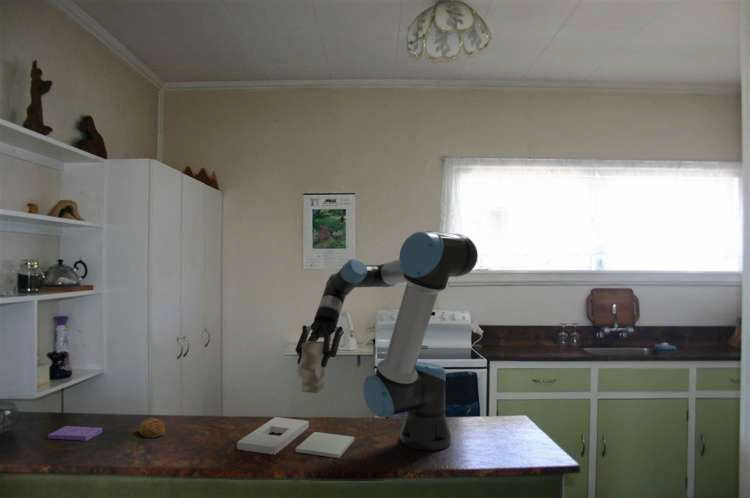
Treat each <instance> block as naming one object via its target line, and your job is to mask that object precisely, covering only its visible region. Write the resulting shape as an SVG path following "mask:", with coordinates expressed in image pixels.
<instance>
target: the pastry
mask: <svg viewBox="0 0 750 498" xmlns="http://www.w3.org/2000/svg"><path fill="white" fill-rule="evenodd" d="M138 432H139V433H140V435H141V436H143V437H146V438H149V439H150V438H152V439H154V438H156V437H161V436H163V435H164V434H165V432H166V427H165V423H164V422H163V421H162V420H161V419H157V418H155V417H150V418H147V419H145V420H142V422H141V424H140V425H139V429H138Z"/></svg>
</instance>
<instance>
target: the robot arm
mask: <svg viewBox="0 0 750 498" xmlns="http://www.w3.org/2000/svg"><path fill="white" fill-rule="evenodd" d="M478 255H479V254H478V249H477V247H476V245H475V243H474V242H473V241H472V240H471V239H470V238H469V237H468V236H466V235H464V234H459V233H448V232H447V233H446V232H441V231H440V232H438V231H433V230H425V231H417V232H414V233H412V234H411V235H409V236H408V237H407V238H406V239H405V240H404V242H403V243H402V246H401V248H400V251H399V259H397V260H393V261H389V262H386V263H382V264H377V265H376V264H365V262H364V261H362V260H360V259H358V258H352V259H349V260H348V261H347V262H346V263H344V264H343V265H342V267H341V268H340V269H339V271H338V272H336V273H332V274H331V275H330V276H329V277H328V279H327V281H326V284H325V288H324V290H323V292H322V293H323V294H322V297H321V299H320V302H319V305H318V308H317V310H316V313H315V315H314V319H313V322H312V323H311V325H308V326H307V325H304V324H303V325H302V327H301V328H302V331H301V334H300V336H299V339H298V342H297V344H296V347H295V353H296V354H297V356H299V357H298V359H297V365H298V366H297V369H296V374H297V376H298V378H302V344H303V343H305V342H308V341H317V342H318V340H319V339H321V338H323V342H324V352H323V353H324V355H323V354H321V355H320V358H319V361H318V364H317V367H316V371H315V375H316V377H317V378H320V376H321V373H322V369H323V367H324V368H326V367H327V365H328V361H329V359H330V358H335V357H336V356H337V353H338V349H339V345H340V342H341V338H342V336H343V335H344V333H345V332H344V329H343V326H341V325H340V326H338V322H339V319H340V315H341V313H342V309H343V306H344V302H345V300H346V297H347V296H348V295H349V294H350V293H351V292H352V291H353V290H354V289H356V288H390V287H394V286H395V285H397V284H401V283H406V285H405V289H404V292H403V294H402V295H403V296H402V299H401V303H400V305H399V309H398V314H397V316H396V320H395V323H394V327H393V330H392V335H391V338H390V342H389V345H388V347H387V352H386V355H385V358H384V359H381V360H379V362H378V364H377V367H376V369H375V370H376V371H375V373H374V374H369V375H368V376H366V378H365V379H364V382H363V388H362V390H363V397H364V400H365V404H366V405H367V408H368V409H369V411H370V412H372V414H373V415H374V416H376V417H378V418H387V417H390V418H391V417H393V416H395V415H399V414H404V413H405V417H404V420H403V424H402V427H401V429H400V437H399V438H400V442H401V443H402V444H403V445H404V446H406V447H408V448H410V449H414V450H415V449H416V450H420V451H440V450H443V449H446V448H448V447H449V446H450V445H451V443H452V435H451V431H450V427H449V423H448V422H447V421H448V420H447V418H446V386H447V385H446V384H447V383H446V382H447V379H446V370H445V368H444V367H443V366H441V365H439V364H436V363H431V362H424V361H418V358H419V357H420V356H419V355H420V353H421V349H422V345H423V343H424V340H425V336H426V332H427V329H428V326H429V323H430V319H431V317H432V313H433V310H434V307H435V303H436V300H437V296H438V294H439V293H440V292H442V291H444V290H446V287H447V284H448V283H449V279H450V277H451V278H452V277H462V276H465V275H467V274H469V273H470V272H472V271H473V270H474V269H475V267H476V264H477V261H478V258H479V256H478ZM309 334H310V336H309ZM332 334H334V335H333V336H334V337H333V338H332V339H333V340H332V343H331V336H332ZM330 346H331V347H330Z"/></svg>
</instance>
